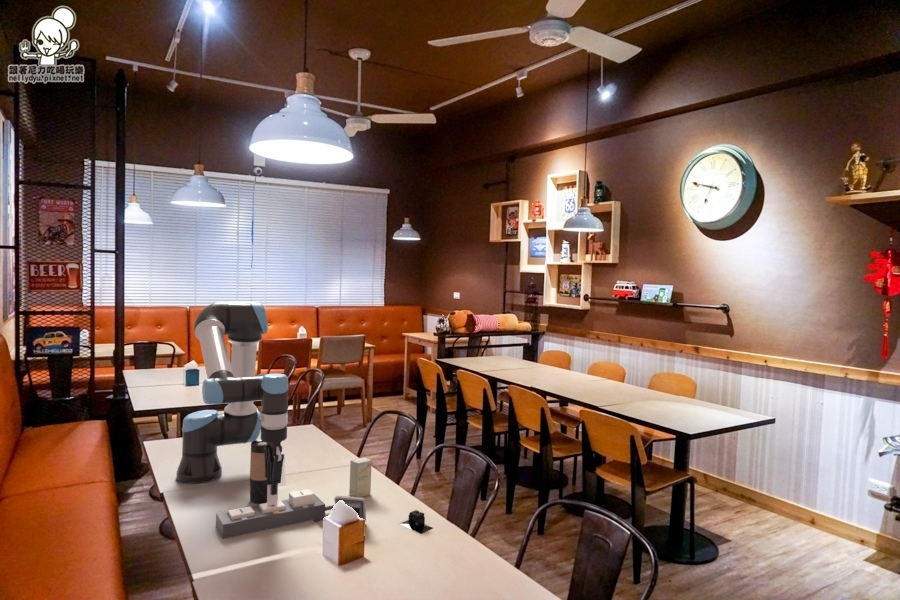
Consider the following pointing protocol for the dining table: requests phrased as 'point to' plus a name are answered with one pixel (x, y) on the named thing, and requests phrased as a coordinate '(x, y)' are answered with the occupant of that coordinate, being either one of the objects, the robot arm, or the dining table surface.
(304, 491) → the button
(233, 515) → the button
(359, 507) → the electrical switch
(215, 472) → the robot arm
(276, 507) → the button
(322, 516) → the power strip
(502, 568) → the dining table surface
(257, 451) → the travel mug
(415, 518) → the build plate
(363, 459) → the skincare box
